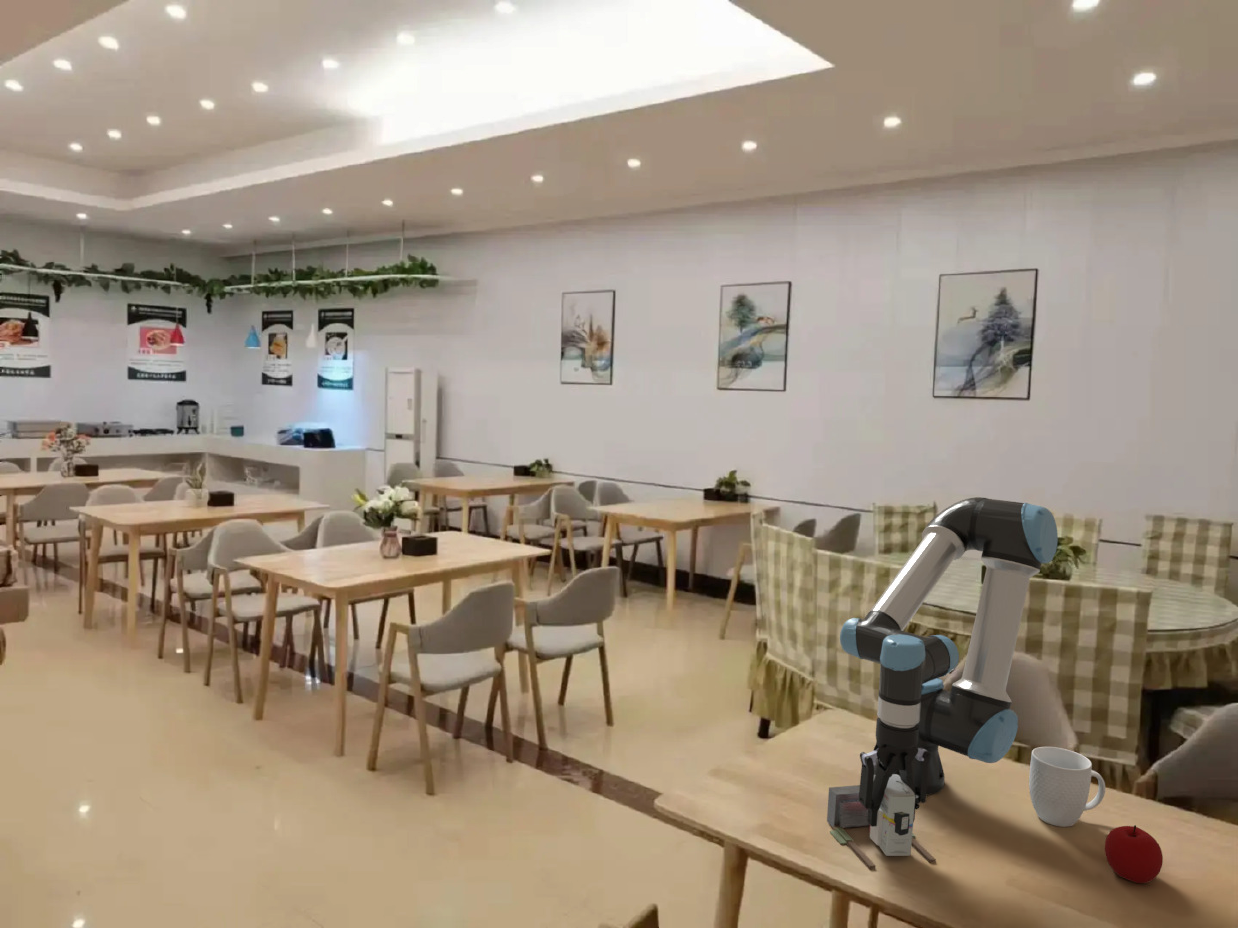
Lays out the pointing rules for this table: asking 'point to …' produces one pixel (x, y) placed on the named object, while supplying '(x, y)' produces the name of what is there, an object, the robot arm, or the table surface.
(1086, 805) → the mug
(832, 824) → the grey block
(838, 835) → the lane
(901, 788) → the ink box
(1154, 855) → the apple
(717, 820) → the table surface
